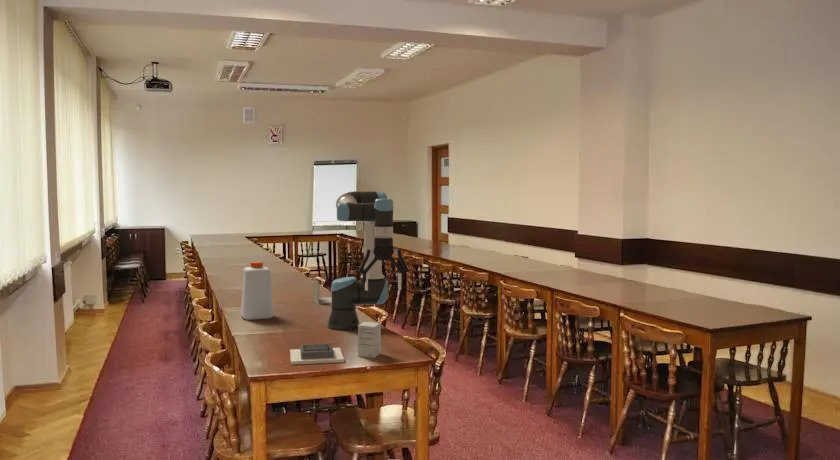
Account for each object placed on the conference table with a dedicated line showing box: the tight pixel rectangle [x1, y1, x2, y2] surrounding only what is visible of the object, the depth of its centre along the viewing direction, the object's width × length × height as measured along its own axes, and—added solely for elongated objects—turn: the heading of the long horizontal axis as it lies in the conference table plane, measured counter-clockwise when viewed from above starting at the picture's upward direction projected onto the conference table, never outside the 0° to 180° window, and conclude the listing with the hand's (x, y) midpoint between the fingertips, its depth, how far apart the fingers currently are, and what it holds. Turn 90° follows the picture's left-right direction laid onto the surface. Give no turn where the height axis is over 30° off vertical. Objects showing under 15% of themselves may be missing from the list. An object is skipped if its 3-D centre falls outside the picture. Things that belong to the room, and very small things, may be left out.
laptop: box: [312, 277, 332, 305], centre depth 377 cm, size 18×12×13 cm
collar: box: [299, 343, 334, 359], centre depth 255 cm, size 12×12×2 cm
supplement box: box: [357, 321, 382, 359], centre depth 260 cm, size 7×7×13 cm
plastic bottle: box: [240, 261, 274, 321], centre depth 329 cm, size 15×15×28 cm
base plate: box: [289, 347, 345, 366], centre depth 255 cm, size 18×20×1 cm
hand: (383, 289), depth 262 cm, fingers open, 13 cm apart
